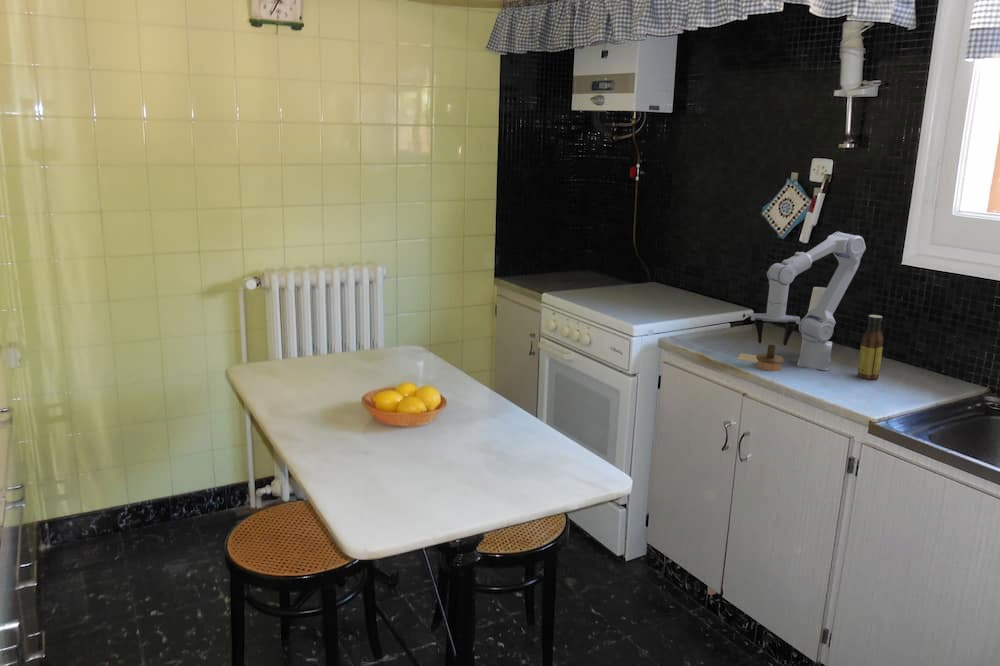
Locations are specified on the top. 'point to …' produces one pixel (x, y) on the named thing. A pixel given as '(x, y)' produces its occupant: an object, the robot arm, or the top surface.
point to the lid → (770, 356)
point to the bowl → (768, 366)
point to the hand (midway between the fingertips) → (772, 343)
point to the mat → (747, 357)
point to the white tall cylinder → (816, 297)
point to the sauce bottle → (871, 349)
